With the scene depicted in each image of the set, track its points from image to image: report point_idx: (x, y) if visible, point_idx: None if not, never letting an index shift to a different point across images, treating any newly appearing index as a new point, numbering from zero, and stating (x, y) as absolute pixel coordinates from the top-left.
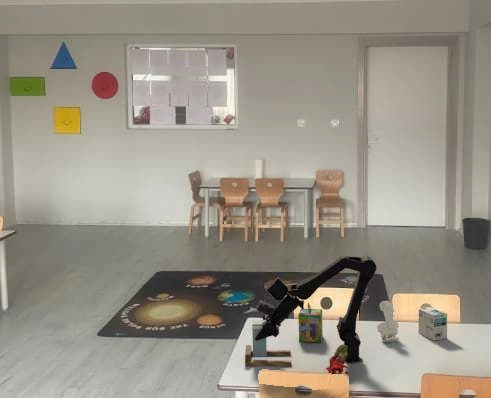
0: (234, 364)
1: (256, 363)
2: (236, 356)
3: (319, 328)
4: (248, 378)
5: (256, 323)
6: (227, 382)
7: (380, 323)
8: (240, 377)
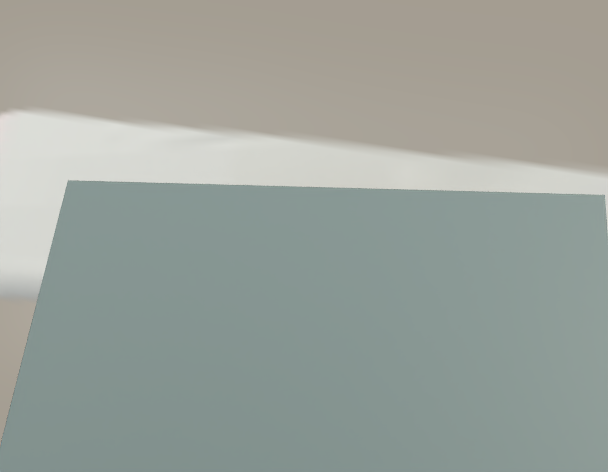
0: (290, 162)
1: None
2: (470, 172)
3: None
4: (30, 261)
5: (127, 341)
6: (13, 133)
7: None
8: (59, 208)
